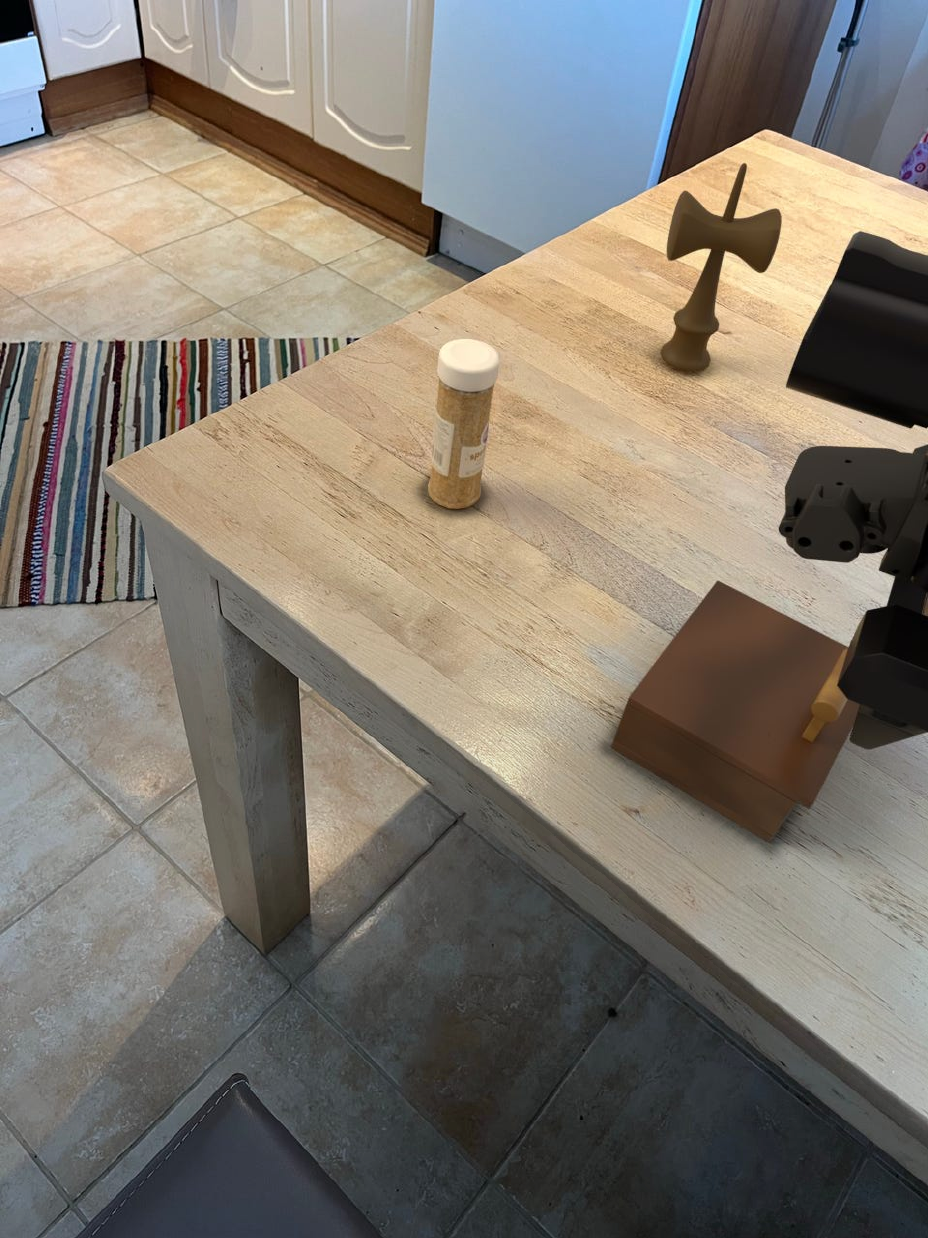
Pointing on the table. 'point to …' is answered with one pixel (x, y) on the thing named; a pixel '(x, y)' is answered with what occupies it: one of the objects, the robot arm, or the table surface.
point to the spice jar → (461, 421)
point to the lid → (753, 692)
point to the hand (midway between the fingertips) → (875, 684)
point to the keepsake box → (701, 774)
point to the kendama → (713, 266)
